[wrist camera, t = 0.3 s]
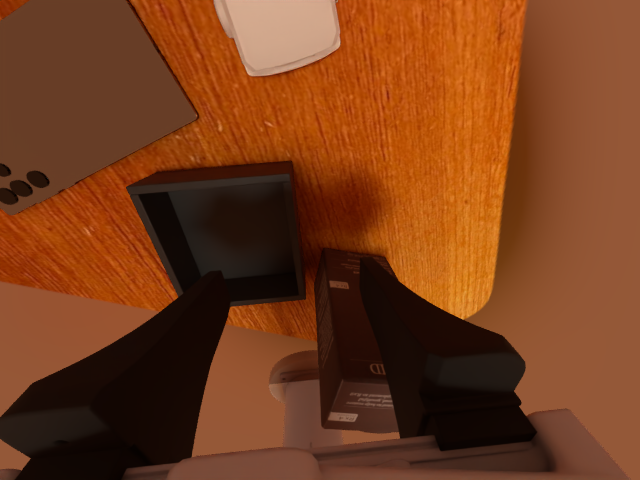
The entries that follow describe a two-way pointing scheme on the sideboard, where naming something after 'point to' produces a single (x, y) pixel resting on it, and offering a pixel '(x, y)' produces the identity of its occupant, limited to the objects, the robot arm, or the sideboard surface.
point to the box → (349, 350)
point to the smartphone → (78, 95)
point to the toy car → (280, 32)
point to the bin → (227, 228)
